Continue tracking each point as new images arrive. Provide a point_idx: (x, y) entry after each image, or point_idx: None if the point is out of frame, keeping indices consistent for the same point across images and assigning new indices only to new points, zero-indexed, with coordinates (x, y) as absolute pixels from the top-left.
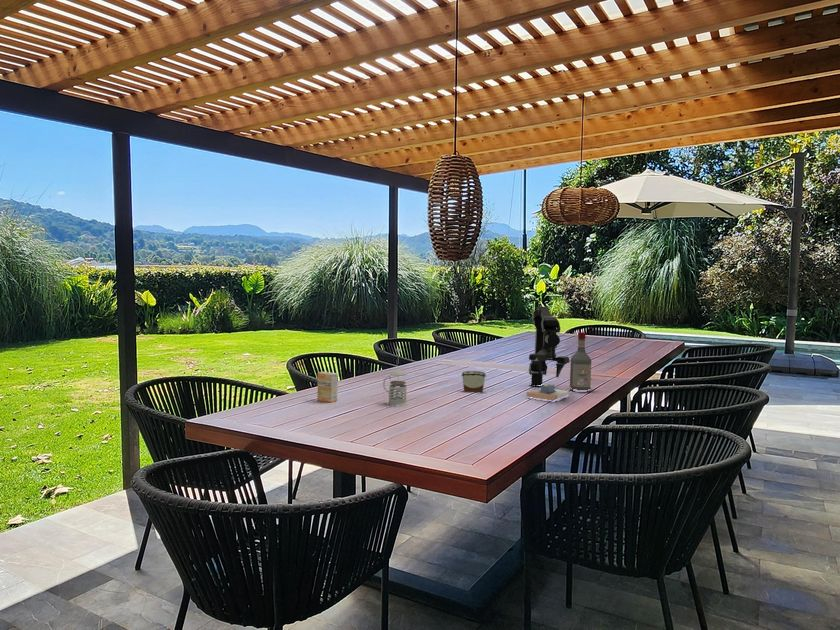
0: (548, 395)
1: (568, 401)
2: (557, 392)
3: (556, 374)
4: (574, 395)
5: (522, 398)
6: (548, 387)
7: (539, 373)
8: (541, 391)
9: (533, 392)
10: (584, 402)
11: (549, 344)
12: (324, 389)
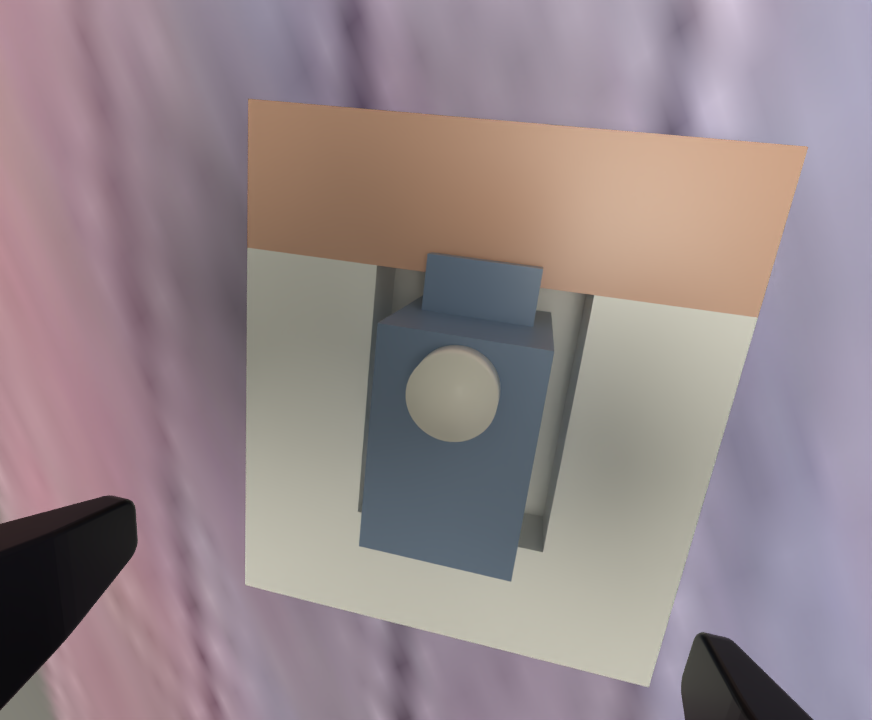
0: (337, 116)
1: (197, 331)
2: (326, 438)
3: (38, 530)
4: (283, 660)
5: (822, 107)
6: (384, 320)
7: (721, 667)
8: (519, 264)
9: (662, 199)
10: (62, 382)
11: None
12: None
